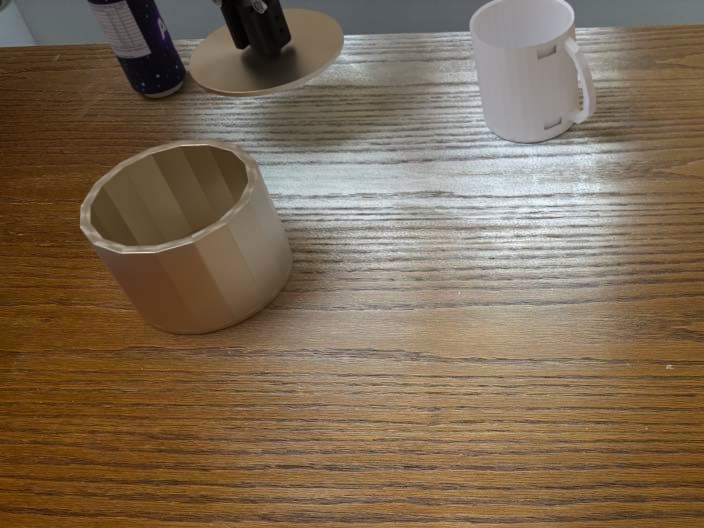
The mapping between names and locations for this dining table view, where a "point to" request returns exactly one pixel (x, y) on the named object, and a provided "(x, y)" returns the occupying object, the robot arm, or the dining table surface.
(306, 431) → the dining table surface
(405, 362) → the dining table surface
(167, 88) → the beverage can
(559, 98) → the mug
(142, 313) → the pot
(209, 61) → the lid
